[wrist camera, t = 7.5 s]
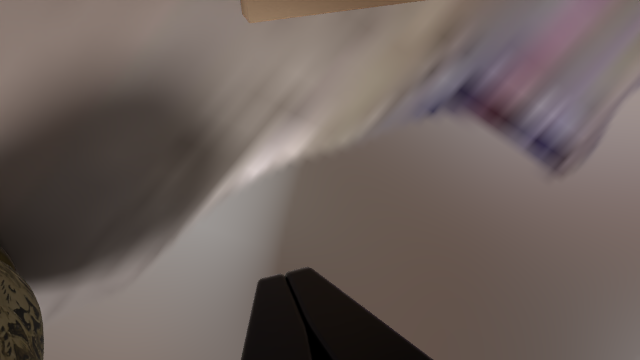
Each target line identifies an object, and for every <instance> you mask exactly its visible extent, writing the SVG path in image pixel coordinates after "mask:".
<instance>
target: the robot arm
mask: <svg viewBox="0 0 640 360" xmlns="http://www.w3.org/2000/svg"><path fill="white" fill-rule="evenodd" d="M241 360H433V359H431V358H430V357H429V356H428V355H426V354H425V353H424V352H422V351H421V350H420V349H418V348H417V347H416V346H414V345H413V344H411V343H410V342H409V341H408V340H406V339H405V338H404V337H402V336H401V335H400V334H398V333H397V332H395V331H394V330H393V329H392V328H390V327H389V326H388V325H386V324H385V323H384V322H382V321H381V320H380V319H378V318H377V317H376V316H374V315H373V314H372V313H370V312H369V311H368V310H366V309H365V308H364V307H362V306H361V305H360V304H358V303H357V302H356V301H354V300H353V299H352V298H350V297H349V296H348V295H346V294H345V293H344V292H342V291H341V290H340V289H339V288H337V287H336V286H335V285H333V284H332V283H331V282H329V281H328V280H327V279H325V278H324V277H323V276H321V275H320V274H319V273H317V272H316V271H315V270H313V269H312V268H309V267H305V268H301V269H297V270H293V271H289V272H287V273H286V275H285V276H284V275H283V274H277V275H273V276H270V277H265V278H262V279H260V280H259V281H258V284H257V288H256V293H255V297H254V302H253V306H252V311H251V316H250V320H249V325H248V329H247V334H246V339H245V343H244V348H243V353H242V357H241Z"/></svg>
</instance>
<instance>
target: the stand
mask: <svg viewBox="0 0 640 360" xmlns="http://www.w3.org/2000/svg"><path fill="white" fill-rule="evenodd" d="M416 1H424V0H241V7H242V14H243V16H244V17H245V18H246V19H247V20H248V22H249V23H255V22H262V21H270V20H278V19H285V18H293V17H301V16H308V15H316V14H324V13H332V12H339V11H347V10H355V9H362V8H370V7H378V6H385V5H393V4H401V3H408V2H416Z"/></svg>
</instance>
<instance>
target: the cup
mask: <svg viewBox="0 0 640 360" xmlns="http://www.w3.org/2000/svg"><path fill="white" fill-rule="evenodd" d="M43 350H44V337H43V322H42V316H41V311H40V307H39V304H38V302H37V300H36V297H35V295H34V293H33V291H32V290H31V288H30V286H29V285H28V284H27V283H26V281H25V280H24V279H23V278H22V277H21V276H20V275H19V274H18V273H17V272H16V269H15V266H14V264H13V261H12V260H11V258H10V256H9V255H8V254H7V252H6V251H5V250H4V249H2V248H1V247H0V360H43V354H44V351H43Z"/></svg>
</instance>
